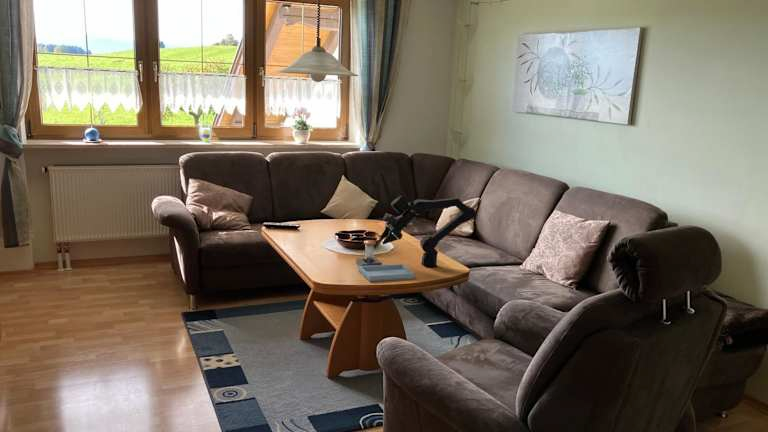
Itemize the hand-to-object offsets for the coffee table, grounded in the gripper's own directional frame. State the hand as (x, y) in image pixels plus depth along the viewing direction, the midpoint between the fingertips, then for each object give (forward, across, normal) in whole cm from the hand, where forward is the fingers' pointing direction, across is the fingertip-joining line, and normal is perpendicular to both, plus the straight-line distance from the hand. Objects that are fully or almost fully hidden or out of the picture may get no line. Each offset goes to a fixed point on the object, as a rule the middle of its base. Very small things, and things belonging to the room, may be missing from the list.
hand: (381, 241), depth 304 cm
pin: (+13, 0, +5) cm, 14 cm away
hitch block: (+13, 0, +5) cm, 14 cm away
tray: (+8, +16, +9) cm, 20 cm away
